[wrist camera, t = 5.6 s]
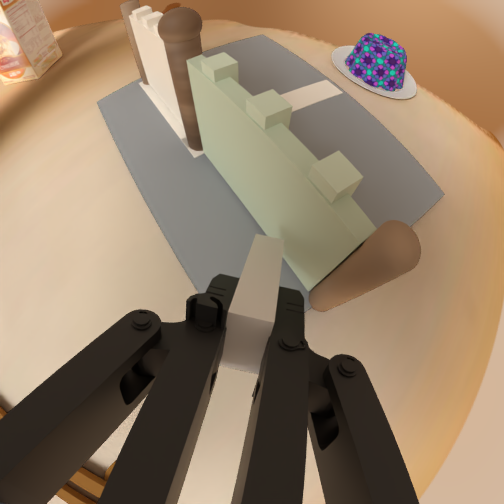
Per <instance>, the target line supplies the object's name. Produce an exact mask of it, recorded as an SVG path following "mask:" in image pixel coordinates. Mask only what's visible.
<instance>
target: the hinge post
mask: <svg viewBox="0 0 504 504" xmlns="http://www.w3.org/2000/svg"><path fill="white" fill-rule="evenodd" d="M201 29H202V20H201V17H200V15H199V14H198V13H197V12H196V11H194V10H192V9H190V8H186V7H178V8H174V9H171V10H169V11H168V12H166V13H165V14H164V15H163V16H162V17H161V19H160V20H159V23H158V34H159V36H160V38H161V39H162V40H163V42H164V46H165V51H166V55H167V59H168V64H169V68H170V73H171V77H172V81H173V85H174V89H175V94H176V98H177V102H178V106H179V110H180V114H181V118H182V122H183V126H184V130H185V134H186V137H187V141H188V145H189V147H190V148H191V149H192V150H195V151H203V146H202V141H201V136H200V131H199V126H198V121H197V116H196V111H195V105H194V100H193V95H192V89H191V84H190V78H189V72H188V67H187V61H186V60H188V59H191V58H193V57H196V56H199V55H201V54H202V47H201V39H200V32H201Z"/></svg>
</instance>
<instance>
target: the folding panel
mask: <svg viewBox="0 0 504 504" xmlns="http://www.w3.org/2000/svg"><path fill="white" fill-rule="evenodd" d="M186 61H187V67H188V72H189V78H190V84H191V89H192V95H193V100H194V105H195V111H196V116H197V121H198V126H199V131H200V136H201V141H202V146H203V151H204V154H205V155H206V156H207V157H208V159H209V160H210V161H211V163H212V164H213V165H214V166H215V168H216V169H217V170H218V172H219V173H220V174H221V176H222V177H223V178H224V179H225V181H226V182H227V183H228V185H229V186H230V187H231V189H232V190H233V191H234V193H235V194H236V195H237V196H238V198H239V199H240V200H241V202H242V203H243V204H244V206H245V207H246V208H247V210H248V211H249V212H250V214H251V215H252V216H253V218H254V219H255V220H256V222H257V223H258V224H259V226H260V227H261V228H262V230H263V231H264V232H265V234H266V235H267V236H269V237H273V238H278V239H282V240H284V247H283V256H282V257H283V258H284V259H285V261H286V262H287V263H288V265H289V266H290V267H291V269H292V270H293V272H294V273H295V274H296V276H297V277H298V278H299V280H300V281H301V283H302V284H303V285H304V287H305V288H306V289H307V291H310V290H311V289H312V288H313V289H312V290H311V291H310V293H309V303H310V305H311V306H312V308H313V309H315V310H317V311H320V312H324V311H327V310H329V309H332V308H334V307H336V306H338V305H341V304H343V303H345V302H347V301H349V300H352V299H354V298H356V297H358V296H360V295H362V294H364V293H366V292H368V291H371V290H373V289H375V288H377V287H379V286H381V285H383V284H385V283H387V282H389V281H391V280H393V279H395V278H397V277H398V276H400V275H402V274H404V273H406V272H408V271H410V270H412V269H413V268H414V267H415V266H416V265H417V263H418V262H419V259H420V254H421V248H420V243H419V240H418V237H417V235H416V234H415V232H414V231H413V230H412V229H411V228H410V227H409V226H408V225H407V224H405V223H403V222H401V221H398V220H389V221H386V222H384V223H383V224H382V225H381V226H380V227H379V228H378V229H377V228H376V227H375V226H374V224H373V223H372V222H371V221H370V219H369V218H368V217H367V216H366V214H365V213H364V212H363V211H362V209H361V208H360V207H359V206H358V205H357V203H356V202H355V201H354V200H353V199H352V197H351V196H352V194H353V193H354V191H355V190H356V188H357V186H358V185H359V183H360V182H361V180H362V179H363V176H362V175H361V174H360V172H359V171H358V170H357V169H356V168H355V167H354V166H353V165H352V164H351V163H350V162H349V160H348V159H347V158H346V157H345V156H344V155H343V154H342V153H341V152H340V151H337V152H335V153H333V154H331V155H329V156H328V157H326V158H324V159H322V160H320V161H319V160H318V159H317V158H316V157H315V156H314V155H313V154H312V153H311V152H310V151H309V150H308V149H307V148H306V147H305V146H304V145H303V144H302V143H301V142H300V140H299V139H298V138H297V137H296V136H295V135H294V134H293V133H292V132H291V131H289V130H288V129H289V124H290V118H291V113H292V107H293V106H292V105H291V104H290V103H288V102H287V101H286V100H285V99H284V98H283V97H282V96H280V95H279V94H278V93H277V92H276V91H274V90H273V89H271V90H269V91H266V92H263V93H261V94H258V95H255V96H252V95H251V94H250V93H249V92H247V91H246V90H245V89H244V88H243V87H242V86H240V85H239V78H238V62H237V61H236V60H235V59H233V58H232V57H230V56H229V55H228V54H226V53H225V52H223V53H220V54H217V55H214V56H211V57H208V58H206V57H205V56H203V55H202V54H201V55H199V56H196V57H193V58H191V59H188V60H186Z"/></svg>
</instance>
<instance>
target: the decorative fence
mask: <svg viewBox="0 0 504 504" xmlns="http://www.w3.org/2000/svg"><path fill="white" fill-rule="evenodd" d="M6 414H7V413H6V412H5V411H4V410H3V409H2V407H1V406H0V419H1V418H3V417H4V416H5V415H6ZM115 462H116V461H115ZM115 462H114V463H113V464H112V465H111V466H110V467H109V468H108V469H107V470H106V472H105V477H104V480H103V479H102V478H100V477H98V476H96V475H94V474H93V473H91V472H89V471H88V470H86V469H84V468H83V467H81V468H80V469H79V470H78V471H77V472H76V473H75V474H74V475H73V476H72V477H71V479H70V481H72V482H73V483H75V484H76V485H78V486H80V487H81V488H83V489H84V490H86V491H88V492H90V493H91V494H93V495H95V496H97V497H98V498H100V496H101V494H102V491H103V489H104V487H105V485H106V482H107V480H108V478H109V476H110V473H111V471H112V469H113V467H114V465H115ZM55 495H57V496H58V497H59V498H61V499H62V500H64V501H65V502H67V503H68V504H97V503H95V502H93V501H92V500H90V499H88V498H87V497H85V496H83V495H82V494H80V493H79V492H77V491H75V490H74V489H72V488H71V487H69V486H68V485H66V484H65V485H64V486H63V487H62V488H61V489H60V490H59V491H58V492H57V493H56V494H55Z"/></svg>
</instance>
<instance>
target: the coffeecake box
mask: <svg viewBox="0 0 504 504" xmlns="http://www.w3.org/2000/svg"><path fill="white" fill-rule="evenodd" d="M62 55H63V54H62V52H61V50H60V48H59V46H58V44H57V41H56V39H55V37H54V35H53V33H52V30H51V29H50V26H49V24H48V21H47V19H46V17H45V14H44V12H43V10H42V7H41V5H40V2H39V0H0V78H1V80H2V81H3V83H4V85H8V84H13V83H17V82H22V81H28V80H34V79H39V78H40V77H41V76H42V75H43V74H44V73H45V72H46V71H47V70H48V69H49V68H50V67H51V66H52V65H53V64H54V63H55V62H56V61H57V60H58V59H59V58H60V57H61V56H62Z"/></svg>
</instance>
